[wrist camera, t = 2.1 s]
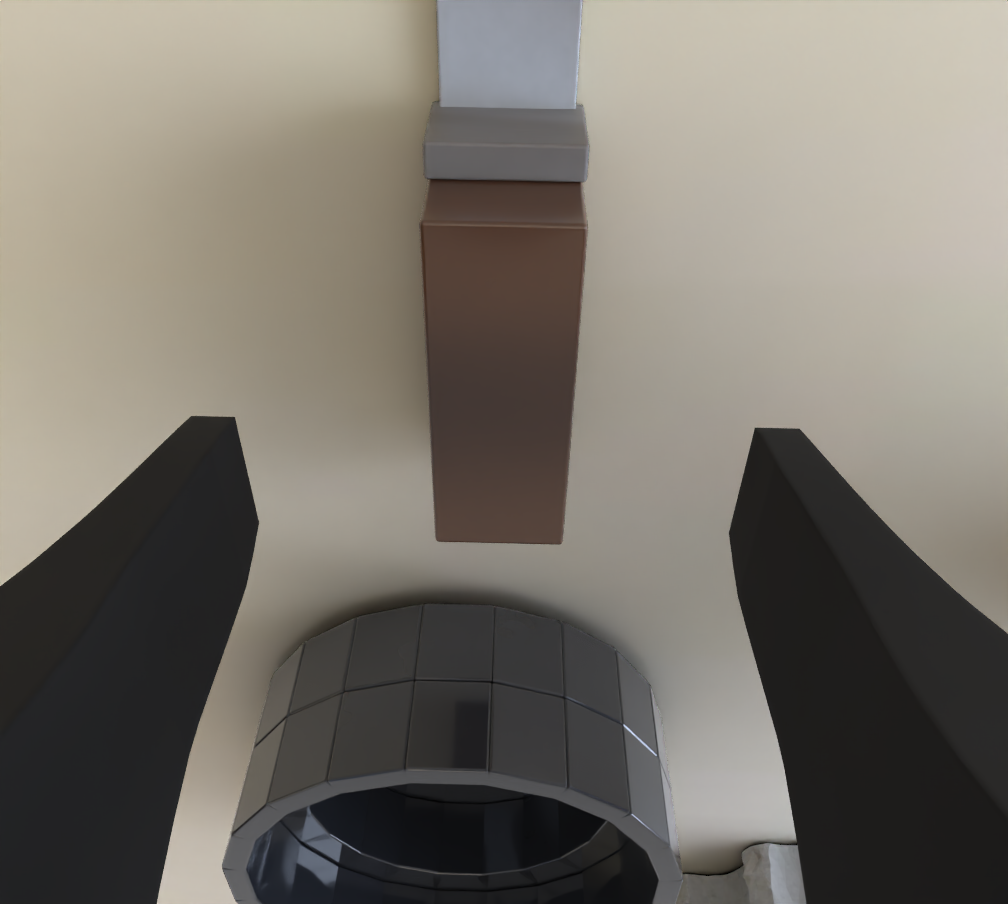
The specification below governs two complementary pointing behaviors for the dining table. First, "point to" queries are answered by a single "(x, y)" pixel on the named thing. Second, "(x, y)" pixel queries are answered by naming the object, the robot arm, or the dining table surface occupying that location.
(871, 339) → the dining table surface
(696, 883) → the egg carton
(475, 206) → the knife
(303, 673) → the bowl
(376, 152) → the dining table surface
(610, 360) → the dining table surface
